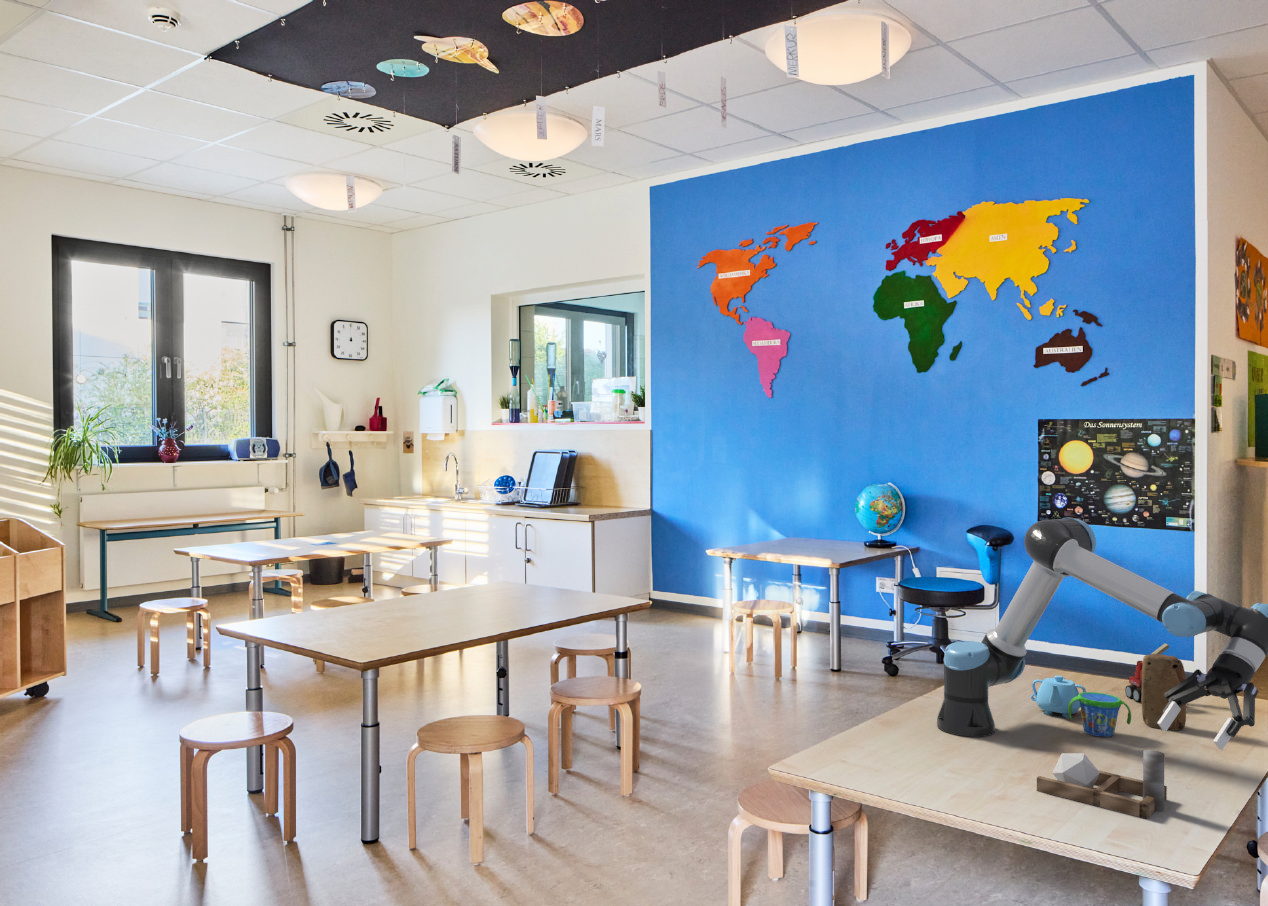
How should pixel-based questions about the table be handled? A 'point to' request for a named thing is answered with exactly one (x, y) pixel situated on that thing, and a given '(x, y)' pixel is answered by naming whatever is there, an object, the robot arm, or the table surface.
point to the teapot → (1056, 695)
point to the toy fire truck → (1140, 678)
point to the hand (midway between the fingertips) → (1188, 736)
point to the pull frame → (1118, 789)
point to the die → (1076, 770)
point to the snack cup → (1099, 712)
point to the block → (1160, 688)
